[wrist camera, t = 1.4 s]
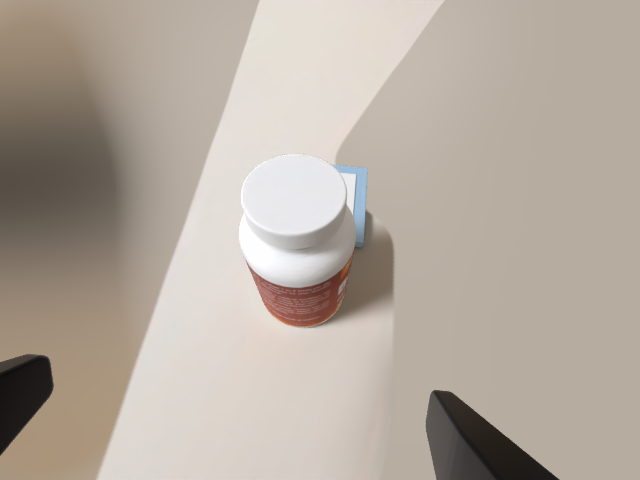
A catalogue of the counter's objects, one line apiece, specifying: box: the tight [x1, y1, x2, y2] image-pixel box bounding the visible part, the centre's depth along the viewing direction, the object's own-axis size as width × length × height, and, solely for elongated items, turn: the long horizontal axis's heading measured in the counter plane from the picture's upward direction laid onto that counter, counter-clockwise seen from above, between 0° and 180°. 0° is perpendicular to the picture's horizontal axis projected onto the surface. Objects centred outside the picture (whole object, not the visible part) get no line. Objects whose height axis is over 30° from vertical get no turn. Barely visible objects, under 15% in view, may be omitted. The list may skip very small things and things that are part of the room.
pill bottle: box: [239, 154, 356, 328], centre depth 18 cm, size 6×6×11 cm
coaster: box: [332, 165, 367, 247], centre depth 27 cm, size 8×8×1 cm
